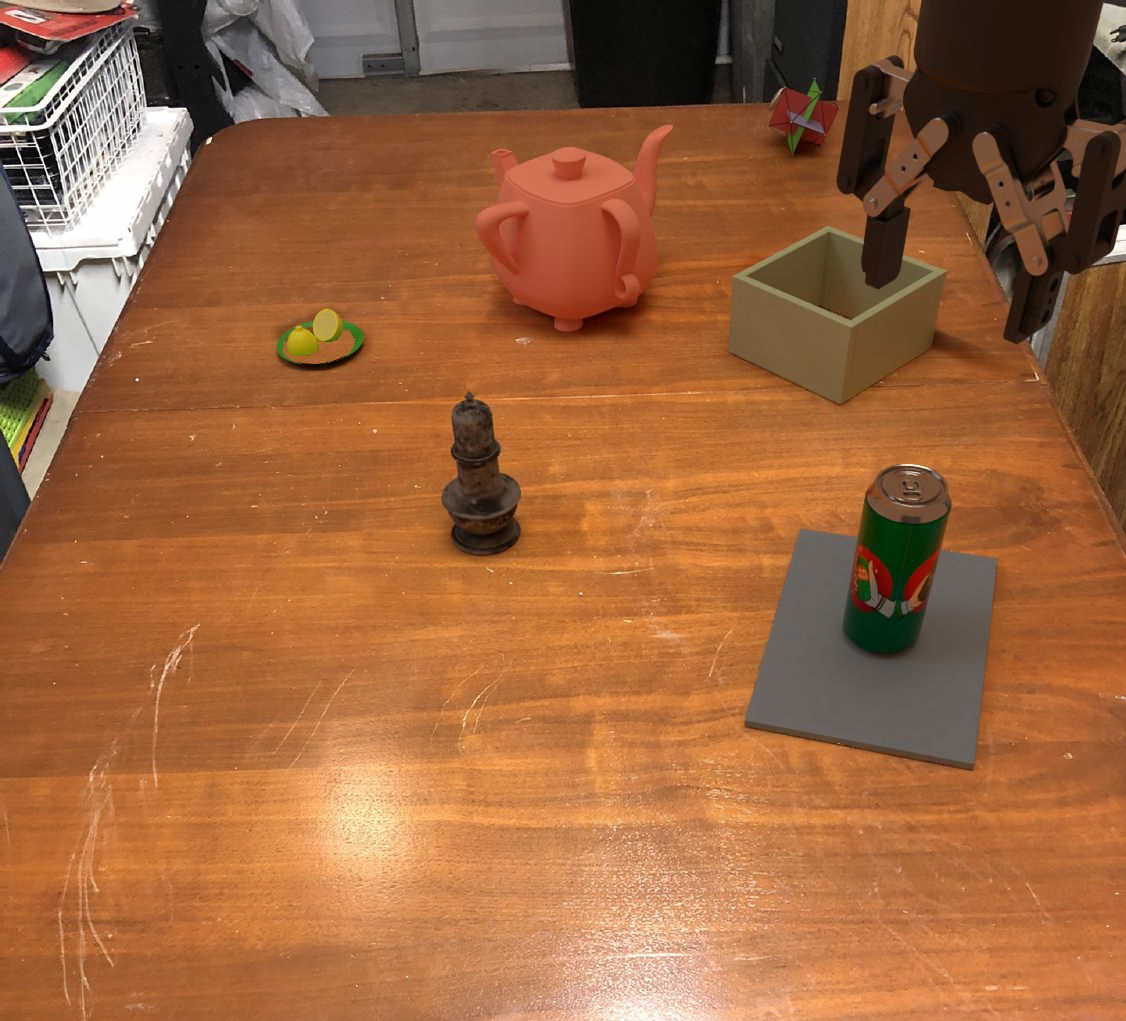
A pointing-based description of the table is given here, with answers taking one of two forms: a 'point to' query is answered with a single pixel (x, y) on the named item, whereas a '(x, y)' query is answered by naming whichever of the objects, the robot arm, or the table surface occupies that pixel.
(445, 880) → the table surface
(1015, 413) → the table surface
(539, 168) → the teapot
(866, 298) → the bin
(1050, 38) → the robot arm
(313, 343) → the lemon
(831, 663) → the mat
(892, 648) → the soda can
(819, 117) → the geometric puzzle
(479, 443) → the salt shaker
